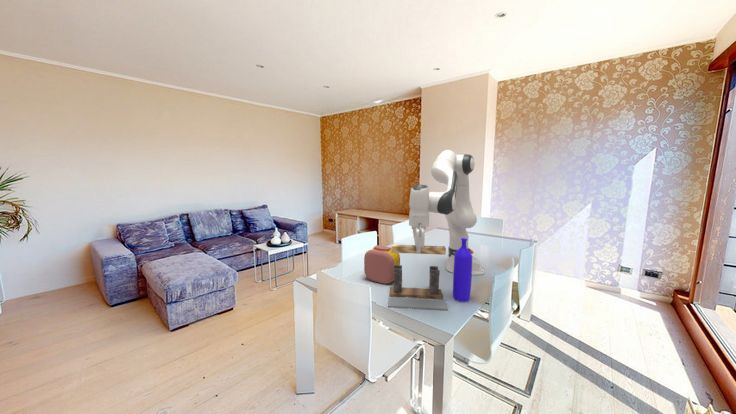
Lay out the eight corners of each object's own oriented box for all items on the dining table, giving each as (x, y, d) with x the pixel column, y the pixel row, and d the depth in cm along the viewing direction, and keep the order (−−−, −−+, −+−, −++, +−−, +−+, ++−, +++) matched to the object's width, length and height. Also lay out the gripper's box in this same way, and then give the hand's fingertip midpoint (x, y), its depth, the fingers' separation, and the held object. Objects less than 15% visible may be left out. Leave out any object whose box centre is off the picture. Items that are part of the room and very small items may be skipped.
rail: (444, 252, 125) (444, 246, 124) (445, 254, 122) (445, 248, 121) (391, 250, 127) (391, 244, 127) (391, 252, 125) (391, 246, 124)
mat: (445, 301, 131) (445, 300, 131) (447, 310, 123) (448, 308, 123) (388, 299, 134) (388, 297, 134) (387, 307, 126) (387, 305, 126)
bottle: (449, 294, 138) (452, 236, 134) (465, 294, 139) (468, 236, 134) (456, 302, 130) (459, 241, 125) (473, 302, 131) (476, 240, 126)
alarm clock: (400, 279, 157) (401, 246, 154) (392, 286, 147) (393, 252, 144) (372, 273, 166) (372, 242, 163) (363, 280, 156) (362, 247, 153)
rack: (440, 291, 141) (441, 265, 139) (443, 299, 133) (444, 271, 131) (390, 289, 144) (390, 264, 142) (389, 296, 136) (389, 269, 134)
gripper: (428, 226, 112) (427, 259, 114) (424, 217, 132) (423, 245, 134) (412, 226, 113) (412, 258, 115) (410, 217, 133) (410, 244, 135)
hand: (418, 251), depth 125 cm, fingers closed on rail, 3 cm apart
